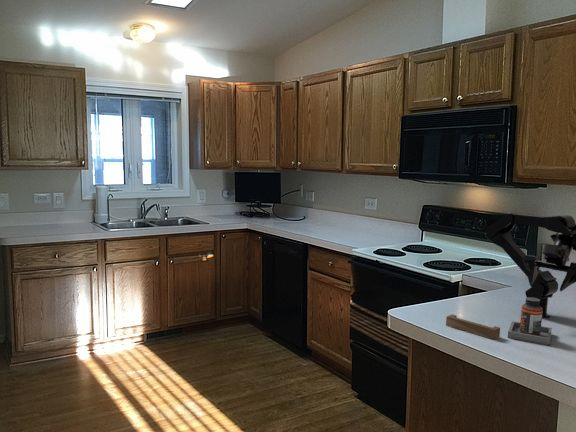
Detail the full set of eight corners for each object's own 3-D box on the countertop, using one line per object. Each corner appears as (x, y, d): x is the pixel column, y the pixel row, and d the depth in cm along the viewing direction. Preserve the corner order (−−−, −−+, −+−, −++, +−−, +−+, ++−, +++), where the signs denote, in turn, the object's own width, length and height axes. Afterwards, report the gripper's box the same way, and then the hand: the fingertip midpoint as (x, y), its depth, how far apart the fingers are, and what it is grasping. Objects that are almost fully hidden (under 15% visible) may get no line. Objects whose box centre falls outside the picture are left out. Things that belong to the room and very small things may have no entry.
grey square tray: (511, 327, 164) (512, 321, 164) (551, 334, 159) (551, 327, 159) (507, 337, 154) (508, 331, 154) (549, 345, 149) (550, 339, 149)
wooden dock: (451, 323, 167) (452, 314, 166) (499, 337, 155) (500, 327, 154) (445, 325, 164) (446, 316, 164) (494, 339, 152) (494, 330, 152)
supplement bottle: (515, 330, 159) (518, 296, 158) (533, 330, 160) (536, 296, 158) (525, 337, 154) (528, 301, 152) (544, 337, 154) (547, 301, 153)
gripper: (527, 231, 171) (510, 267, 165) (588, 239, 158) (572, 278, 152) (534, 251, 178) (518, 286, 171) (593, 260, 164) (578, 299, 158)
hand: (545, 287), depth 163 cm, fingers open, 9 cm apart
